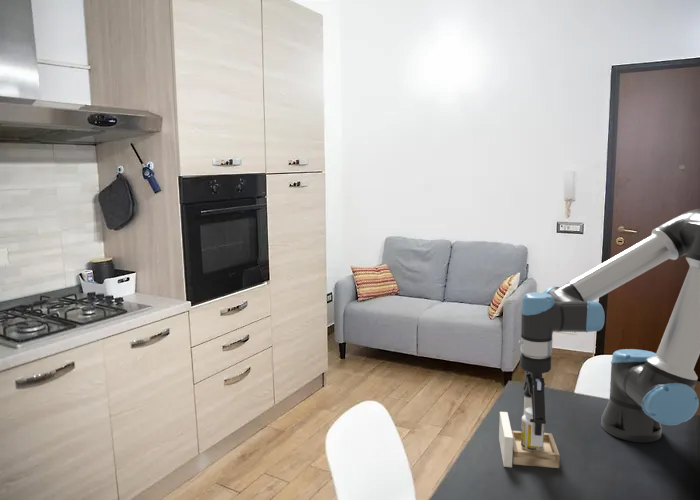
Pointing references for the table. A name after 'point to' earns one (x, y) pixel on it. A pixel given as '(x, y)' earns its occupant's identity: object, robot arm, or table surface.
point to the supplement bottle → (528, 431)
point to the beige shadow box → (536, 452)
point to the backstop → (505, 439)
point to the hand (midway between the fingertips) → (532, 432)
